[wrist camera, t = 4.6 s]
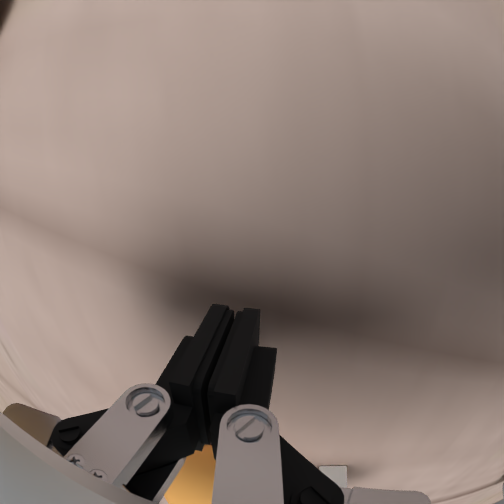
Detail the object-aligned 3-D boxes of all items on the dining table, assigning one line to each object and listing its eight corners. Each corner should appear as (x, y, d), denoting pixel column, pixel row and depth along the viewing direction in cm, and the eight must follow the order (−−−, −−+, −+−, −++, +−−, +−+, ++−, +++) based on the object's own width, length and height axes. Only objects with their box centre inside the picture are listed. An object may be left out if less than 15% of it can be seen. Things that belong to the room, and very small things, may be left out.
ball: (250, 472, 16) (265, 435, 15) (247, 535, 11) (264, 517, 9) (173, 459, 16) (169, 419, 14) (158, 521, 11) (145, 497, 9)
